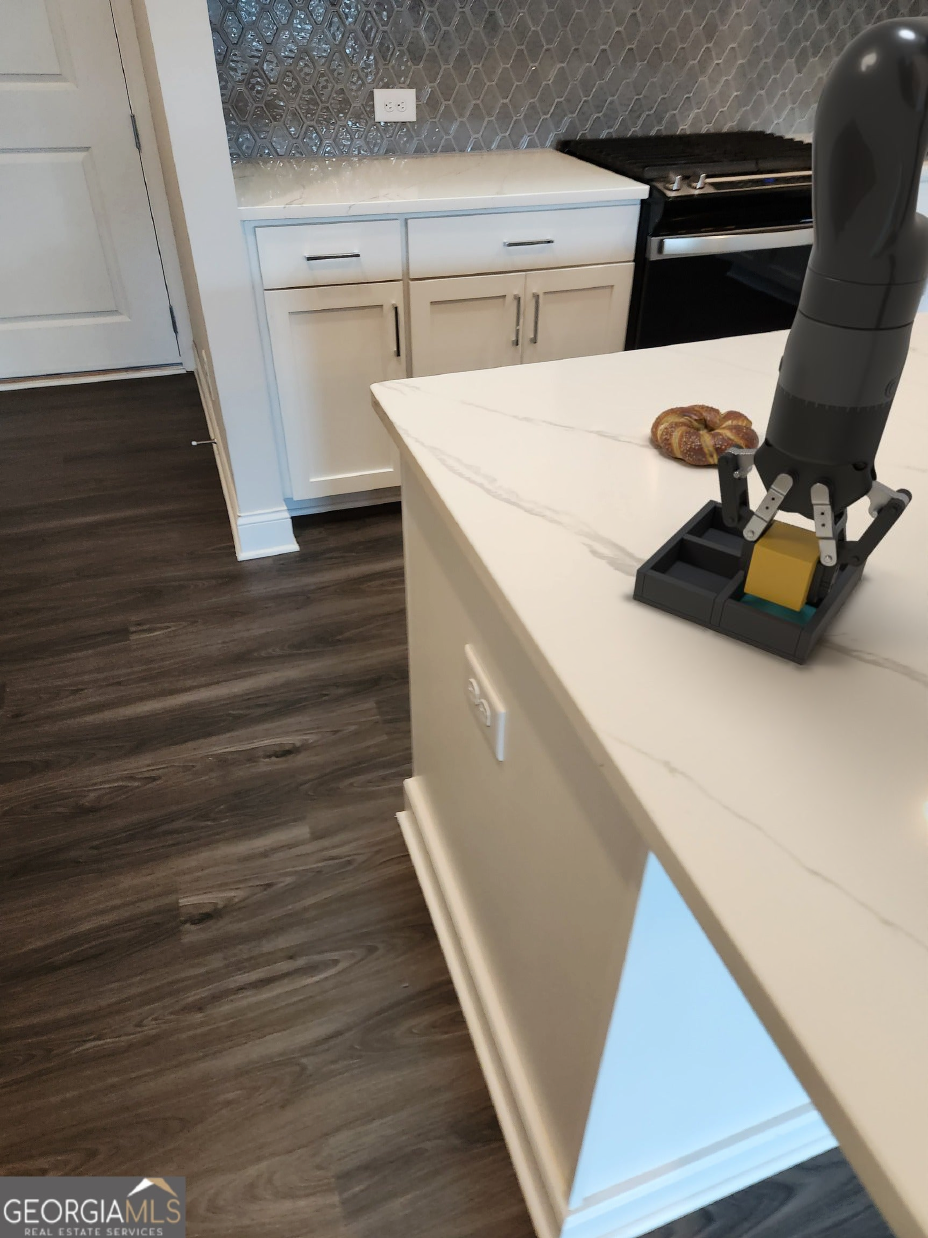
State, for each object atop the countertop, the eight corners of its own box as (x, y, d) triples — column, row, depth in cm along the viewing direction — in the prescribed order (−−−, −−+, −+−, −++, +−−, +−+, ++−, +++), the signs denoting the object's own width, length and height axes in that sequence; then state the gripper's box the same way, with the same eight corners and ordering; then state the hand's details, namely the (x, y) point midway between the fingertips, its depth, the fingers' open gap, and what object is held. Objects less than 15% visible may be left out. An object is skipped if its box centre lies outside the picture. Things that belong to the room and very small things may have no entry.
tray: (861, 577, 73) (870, 548, 71) (802, 665, 64) (811, 635, 62) (705, 525, 81) (710, 498, 79) (632, 598, 71) (636, 569, 70)
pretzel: (633, 454, 93) (637, 423, 91) (668, 418, 100) (672, 389, 98) (739, 479, 88) (746, 447, 85) (767, 440, 95) (774, 410, 93)
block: (818, 585, 67) (833, 537, 64) (799, 612, 64) (813, 563, 61) (764, 566, 69) (776, 520, 66) (743, 592, 66) (754, 544, 63)
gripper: (964, 386, 55) (888, 594, 65) (756, 343, 62) (717, 537, 72) (936, 425, 50) (858, 643, 60) (714, 374, 57) (679, 577, 67)
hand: (781, 585), depth 66 cm, fingers closed on block, 4 cm apart
